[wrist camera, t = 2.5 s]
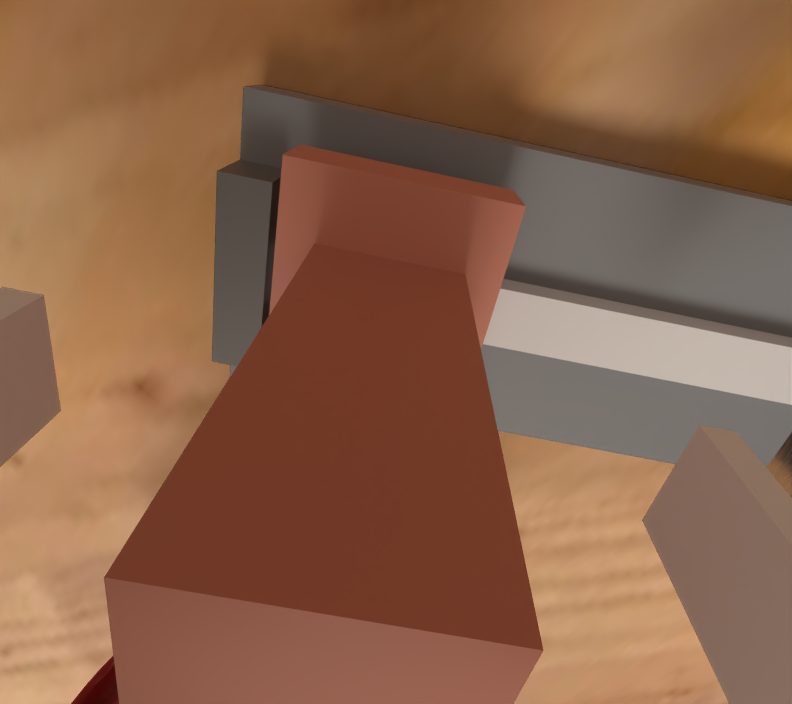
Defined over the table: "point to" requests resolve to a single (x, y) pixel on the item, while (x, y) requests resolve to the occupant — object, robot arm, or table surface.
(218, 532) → the carriage
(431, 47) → the table surface
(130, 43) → the table surface
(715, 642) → the robot arm
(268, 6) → the table surface
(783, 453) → the grey box holder
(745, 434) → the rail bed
